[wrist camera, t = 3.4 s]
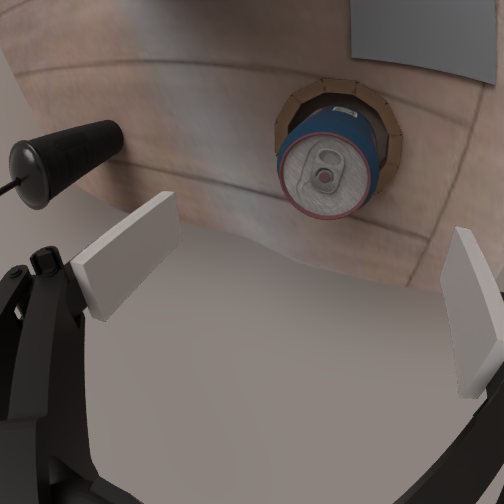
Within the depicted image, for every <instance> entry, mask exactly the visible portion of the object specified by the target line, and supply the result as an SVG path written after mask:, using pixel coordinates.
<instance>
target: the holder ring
mask: <svg viewBox="0 0 504 504" xmlns="http://www.w3.org/2000/svg"><path fill="white" fill-rule="evenodd" d="M324 92H331V93H343V94H354V95H355V96H357V97H358V98H360V99H361V100H362V101H364V102H365V103H367V104H368V105H370V106H371V107H373V108H374V109H375V110H377V111H378V113H379V115H380V117H381V119H382V121H383V123H384V126H385V128H386V130H387V132H388V136H387V148H386V157H385V158H384V160H383V161H382V162H381V164H380V165H379V180H378V184H377V187H376V190H375V192H374V194H373V195H375V194H377V193H379V192H378V190H379V191H381V190H382V189H383V188H384V186H385V185H386V184H387V183H388V181H389V180H390V179H391V178H392V176H393V175H394V174H395V173H396V171H397V170H398V169H399V168H398V166H400V157H401V148H402V138H403V135H402V132H401V129H400V127H399V125H398V123H397V121H396V119H395V116H394V114H393V112H392V110H391V108H390V106H389V104H388V103H387V101H386V100H385V99H383V98H382V97H380V96H379V95H378V94H376V93H375V92H373V91H372V90H370V89H369V88H367V87H366V86H365V85H363V84H362V83H360V82H358V83H357V81H353V80H341V79H327V78H325V79H320V80H318V81H316V82H314V83H312V84H310V85H308V86H306V87H304V88H302V89H300V90H298V91H296V92H294V93H293V95H290V97H289V99H288V100H287V102H286V104H285V105H284V107H283V109H282V110H281V112H280V114H279V116H278V117H277V119H276V123H275V153H277V154H276V156H277V158H278V153H279V150H280V147H281V145H282V143H283V141H284V140H285V138H286V137H287V136H288V134H289V133H290V132H291V131H292V122H293V120H294V119H295V117H296V115H297V114H298V112H299V111H300V109H301V107H302V106H303V104H304V102H306V101H308V100H310V99H312V98H314V97H316V96H318V95H320V94H322V93H324Z"/></svg>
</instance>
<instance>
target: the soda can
mask: <svg viewBox="0 0 504 504" xmlns="http://www.w3.org/2000/svg"><path fill="white" fill-rule="evenodd" d="M277 171H278V176H279V180H280V183H281V187H282V189H283V192H284V194H285V195H286V197H287V199H288V200H289V201H290V202H291V204H292V205H293V206H294V207H295V208H297V209H298V210H299V211H301V212H302V213H304V214H306V215H308V216H310V217H313V218H317V219H322V220H334V219H340V218H343V217H346V216H348V215H350V214H352V213H353V212H355V211H356V210H358V209H360V208H361V207H362V206H364V205H365V204H366V203H367V202H368V201H369V200H370V198H371V197H372V195H373V194H374V192H375V190H376V187H377V184H378V180H379V161H378V153H377V146H376V139H375V134H374V131H373V128H372V126H371V124H370V123H369V121H368V120H367V119H366V118H365V117H364V116H363V115H362V114H361V113H360V112H358V111H357V110H355V109H353V108H351V107H348V106H344V105H328V106H325V107H322V108H320V109H318V110H316V111H315V112H313V113H312V114H311V115H310V116H309V117H308V118H306V119H305V120H304V121H303V122H302V123H301V124H299V125H298V126H297V127H296V128H295V129H294V130H293V131H291V132H290V133H289V134H288V136H287V137H286V138H285V140H284V141H283V143H282V145H281V147H280V150H279V153H278V158H277Z"/></svg>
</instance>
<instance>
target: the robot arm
mask: <svg viewBox="0 0 504 504" xmlns="http://www.w3.org/2000/svg"><path fill="white" fill-rule="evenodd" d="M181 241H182V235H181V229H180V223H179V216H178V209H177V202H176V195H175V192H167V191H162V192H160V193H159V194H158V195H156V196H155V197H153V198H152V199H151V200H149V201H148V202H146V203H145V204H144V205H142V206H141V207H139V208H138V209H137V210H135V211H134V212H132V213H131V214H130V215H128V216H127V217H126V218H125V219H123V220H122V221H120V222H119V223H118V224H116V225H115V226H114V227H112V228H111V229H110V230H109V231H107V232H106V233H105V234H103V235H102V236H101V237H99V238H97V239H96V240H95V241H93V242H92V243H91V244H90V245H88V247H86V248H85V249H84V250H82V251H81V252H80V253H78V254H77V255H76V256H75V257H74V258H72V259H71V260H70V261H69V262H68V263H66V264H65V265H63V262H62V259H61V256H60V254H59V251H58V249H57V248H56V247H55V246H48V247H44V248H41V249H40V250H38V251H36V252H35V253H34V254H32V256H31V257H30V261H31V264H32V266H33V268H34V271H35V273H36V275H31V274H30V272H29V269H28V267H27V266H26V265H19V266H15V267H13V268H11V269H10V270H9V271H8V272H7V273H6V274H5V275H4V277H3V278H2V280H1V281H0V504H144V503H142V502H140V501H139V500H138V499H136V498H135V497H134V496H132V495H131V494H129V493H128V492H126V491H124V490H122V489H120V488H118V487H117V486H115V485H113V484H111V483H109V482H108V481H106V480H105V479H103V478H101V477H100V476H99V474H98V472H97V470H96V468H95V466H94V464H93V462H92V460H91V456H90V448H89V438H88V428H87V416H86V400H85V371H84V341H85V339H84V337H85V316H84V313H83V310H84V309H85V308H86V307H88V309H89V311H90V313H91V316H92V317H93V318H95V319H98V320H101V321H103V322H106V320H108V319H109V317H110V316H111V315H112V314H113V313H114V312H115V311H116V309H118V307H119V306H120V305H121V304H122V303H123V302H124V301H125V300H126V299H127V298H128V297H129V296H130V294H131V293H132V292H133V291H134V290H135V289H136V288H137V287H138V286H139V284H141V283H142V282H143V281H144V279H145V278H146V277H147V276H148V275H149V274H150V273H151V272H152V271H153V270H154V269H155V268H156V267H157V266H158V265H159V264H160V263H161V262H162V261H163V260H164V258H165V257H166V256H167V255H168V254H169V253H170V252H171V251H172V250H173V249H174V248H175V247H176V246H177V245H178V244H179V243H180V242H181ZM440 283H441V287H442V291H443V296H444V300H445V305H446V310H447V314H448V320H449V326H450V331H451V337H452V343H453V351H454V357H455V365H456V373H457V383H458V393H459V398H473V399H475V398H476V399H478V398H479V396H480V395H481V394H482V392H483V391H484V390H485V388H486V391H487V399H486V400H485V401H484V403H483V404H482V405H481V406H480V408H479V409H478V410H477V411H476V412H475V413H474V415H473V418H472V419H471V420H470V422H469V423H468V424H467V425H466V427H465V428H464V429H463V431H462V432H461V433H460V434H459V435H458V437H457V438H456V439H455V440H454V442H453V443H452V444H451V445H450V446H449V447H448V449H447V450H446V451H445V452H444V453H443V454H442V455H441V456H440V458H439V459H438V460H437V461H436V462H435V463H434V464H433V465H432V466H431V467H430V468H429V469H428V471H427V472H426V473H425V474H424V475H423V476H422V477H421V478H420V479H419V480H418V481H417V482H416V483H415V484H414V485H413V486H412V487H410V488H409V489H408V490H407V491H406V492H405V493H404V494H403V495H402V496H401V497H400V498H399V499H398V500H396V501H395V502H394V503H393V504H476V502H477V501H478V500H479V498H480V497H481V496H482V494H483V493H484V491H485V490H486V489H487V487H488V486H489V485H490V483H491V482H492V480H493V479H494V477H495V476H496V474H497V473H498V472H499V470H500V468H501V467H502V465H503V464H504V292H499V289H498V287H497V285H496V282H495V280H494V277H493V275H492V273H491V271H490V268H489V266H488V264H487V262H486V260H485V258H484V256H483V254H482V251H481V249H480V247H479V245H478V243H477V241H476V239H475V238H474V236H473V234H472V232H471V230H470V229H467V228H461V227H456V226H455V229H454V233H453V236H452V240H451V244H450V247H449V251H448V254H447V257H446V260H445V264H444V267H443V270H442V273H441V276H440ZM16 306H17V308H18V310H19V312H20V314H21V315H22V316H21V318H20V319H18V318H17V316H16V314H15V312H14V310H15V308H16ZM496 504H504V486H503V488H502V491H501V493H500V496H499V498H498V500H497V503H496Z"/></svg>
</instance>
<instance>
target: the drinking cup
mask: <svg viewBox="0 0 504 504" xmlns="http://www.w3.org/2000/svg"><path fill="white" fill-rule="evenodd" d="M122 145H123V135H122V131H121V129H120V127H119V126H118V125H117V124H116V123H115V122H114V121H111V120H104V121H99V122H95V123H91V124H86V125H82V126H78V127H74V128H70V129H67V130H63V131H59V132H56V133H52V134H49V135H45V136H42V137H38V138H35V139H32V140H29V141H27V140H21V141H19V142H17V143H15V144H14V146H13V147H12V149H11V152H10V156H9V168H10V175H11V179H12V182H10V183H8V184H7V185H5V186H3V187H1V188H0V196H1V195H3V194H4V193H6V192H8V191H9V190H11V189H13V188H14V187H15V189H16V191H17V193H18V195H19V196H20V198H21V199H22V200H23V202H24V203H25V204H26V205H27V206H29V207H30V208H32V209H34V210H40V209H43V208H45V207H46V206H47V204H48V203H49V201H50V200H51V199H52V198H54V197H55V196H56V195H58V194H59V193H60V192H62V191H63V190H64V189H66V188H67V187H68V186H70V185H71V184H72V183H74V182H75V181H77V180H78V179H80V178H81V177H82V176H84V175H85V174H87V173H88V172H90V171H91V170H93V169H94V168H95V167H97V166H98V165H100V164H101V163H103V162H104V161H106V160H108V159H109V158H111V157H112V156H114V155H115V154H117V153H118V152H119V151H120V150H121V148H122Z"/></svg>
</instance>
